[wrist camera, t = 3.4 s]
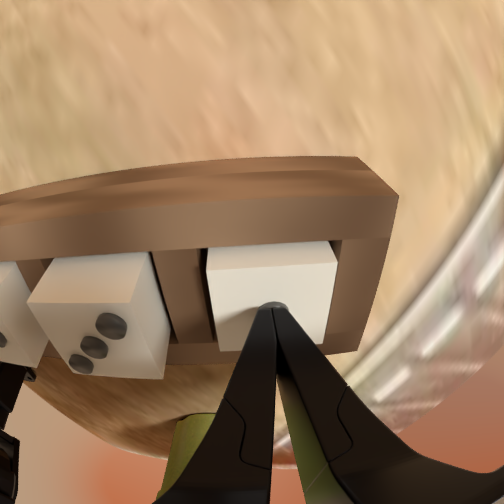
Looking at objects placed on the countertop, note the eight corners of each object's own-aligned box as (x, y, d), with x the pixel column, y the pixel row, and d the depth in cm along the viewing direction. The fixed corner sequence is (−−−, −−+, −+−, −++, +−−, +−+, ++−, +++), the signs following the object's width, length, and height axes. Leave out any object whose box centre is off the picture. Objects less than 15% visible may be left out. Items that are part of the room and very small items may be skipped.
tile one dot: (221, 303, 12) (220, 356, 10) (210, 225, 10) (205, 275, 8) (309, 297, 12) (323, 347, 10) (317, 219, 10) (339, 266, 8)
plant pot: (141, 401, 20) (129, 504, 13) (265, 399, 21) (276, 510, 14) (173, 441, 26) (169, 518, 19) (267, 440, 26) (274, 519, 19)
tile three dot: (90, 326, 11) (72, 377, 9) (56, 255, 9) (23, 306, 7) (171, 326, 11) (162, 384, 9) (148, 248, 9) (127, 308, 7)
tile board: (18, 305, 14) (-6, 348, 11) (-30, 203, 10) (-70, 240, 7) (337, 295, 15) (357, 350, 12) (357, 156, 11) (399, 195, 8)
